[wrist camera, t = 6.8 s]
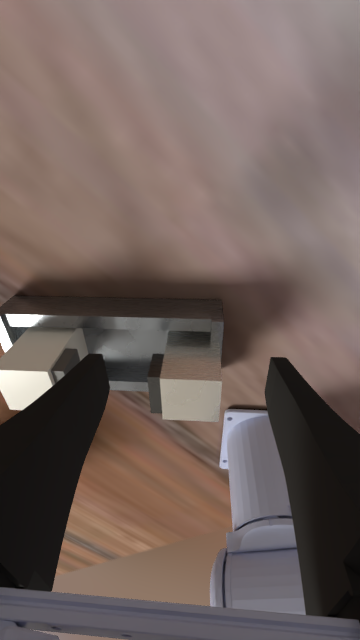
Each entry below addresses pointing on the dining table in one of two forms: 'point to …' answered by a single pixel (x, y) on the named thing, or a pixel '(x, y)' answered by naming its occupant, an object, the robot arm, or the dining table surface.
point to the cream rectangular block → (39, 363)
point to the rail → (139, 345)
